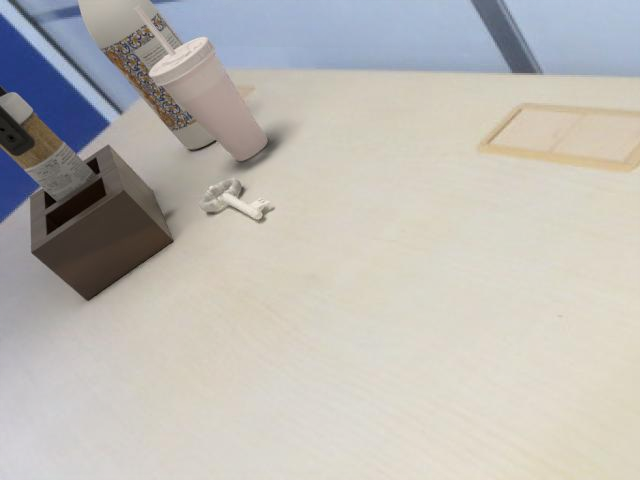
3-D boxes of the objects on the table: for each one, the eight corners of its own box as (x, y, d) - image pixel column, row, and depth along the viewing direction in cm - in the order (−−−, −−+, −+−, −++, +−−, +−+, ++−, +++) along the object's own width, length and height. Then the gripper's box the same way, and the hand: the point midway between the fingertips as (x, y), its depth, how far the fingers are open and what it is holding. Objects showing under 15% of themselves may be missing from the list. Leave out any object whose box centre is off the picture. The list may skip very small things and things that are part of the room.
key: (233, 181, 70) (197, 208, 69) (226, 172, 70) (190, 199, 69) (282, 204, 63) (242, 236, 62) (274, 195, 62) (234, 226, 61)
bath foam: (186, 139, 85) (25, -49, 71) (237, 107, 85) (88, -87, 71) (188, 159, 80) (16, -38, 66) (242, 125, 80) (83, -79, 66)
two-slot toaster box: (77, 240, 77) (29, 196, 73) (152, 190, 78) (108, 143, 74) (87, 301, 66) (30, 252, 62) (173, 240, 67) (123, 189, 63)
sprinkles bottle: (113, 221, 77) (-11, 99, 67) (145, 209, 75) (23, 83, 66) (91, 248, 74) (-42, 126, 64) (124, 237, 73) (-7, 110, 63)
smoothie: (255, 131, 78) (148, -8, 67) (290, 129, 74) (183, -19, 64) (213, 170, 75) (95, 31, 65) (247, 169, 71) (128, 23, 61)
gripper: (-199, -35, 60) (-8, 144, 72) (-241, -20, 50) (-12, 184, 62) (-116, -84, 61) (59, 100, 73) (-142, -79, 51) (65, 133, 63)
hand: (26, 138), depth 67 cm, fingers open, 8 cm apart
